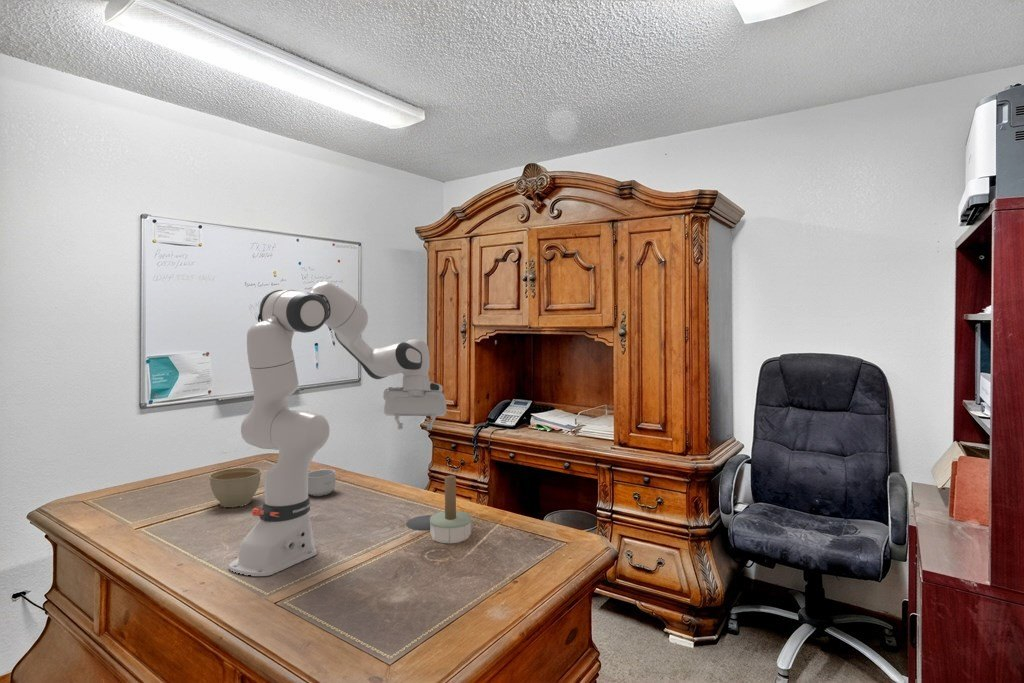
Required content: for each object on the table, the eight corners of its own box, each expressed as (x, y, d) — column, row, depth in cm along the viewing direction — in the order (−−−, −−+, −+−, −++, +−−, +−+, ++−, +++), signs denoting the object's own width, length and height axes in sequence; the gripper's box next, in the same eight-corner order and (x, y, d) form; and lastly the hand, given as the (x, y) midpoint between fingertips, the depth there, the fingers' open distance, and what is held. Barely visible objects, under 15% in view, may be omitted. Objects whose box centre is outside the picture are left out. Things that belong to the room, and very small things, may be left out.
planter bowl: (240, 513, 180) (240, 480, 180) (198, 510, 183) (198, 478, 183) (271, 497, 196) (270, 468, 195) (232, 495, 199) (231, 466, 199)
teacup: (329, 498, 194) (329, 476, 194) (299, 498, 195) (299, 476, 194) (342, 487, 208) (342, 466, 208) (314, 487, 209) (314, 466, 208)
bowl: (459, 547, 151) (459, 529, 151) (424, 542, 155) (424, 524, 155) (475, 532, 161) (475, 516, 161) (442, 528, 165) (442, 512, 165)
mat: (436, 534, 160) (436, 532, 160) (398, 529, 165) (398, 527, 165) (455, 519, 172) (455, 517, 172) (419, 515, 177) (419, 513, 177)
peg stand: (460, 530, 150) (460, 484, 150) (422, 525, 154) (421, 480, 154) (477, 515, 162) (477, 473, 161) (441, 511, 166) (441, 469, 165)
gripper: (384, 384, 175) (382, 427, 170) (447, 386, 180) (447, 427, 175) (383, 389, 181) (381, 430, 176) (444, 391, 186) (444, 431, 181)
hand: (415, 429), depth 176 cm, fingers open, 8 cm apart
